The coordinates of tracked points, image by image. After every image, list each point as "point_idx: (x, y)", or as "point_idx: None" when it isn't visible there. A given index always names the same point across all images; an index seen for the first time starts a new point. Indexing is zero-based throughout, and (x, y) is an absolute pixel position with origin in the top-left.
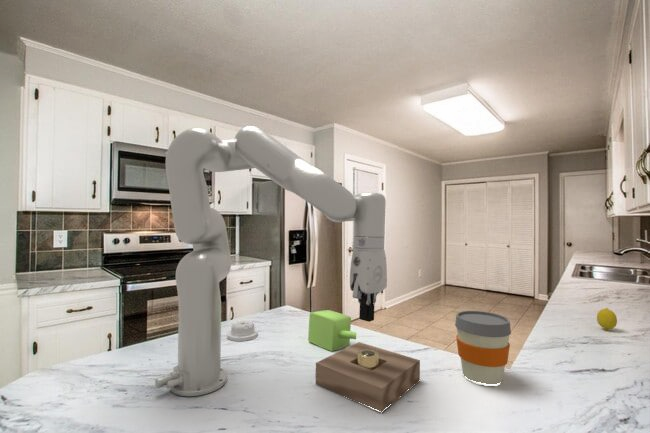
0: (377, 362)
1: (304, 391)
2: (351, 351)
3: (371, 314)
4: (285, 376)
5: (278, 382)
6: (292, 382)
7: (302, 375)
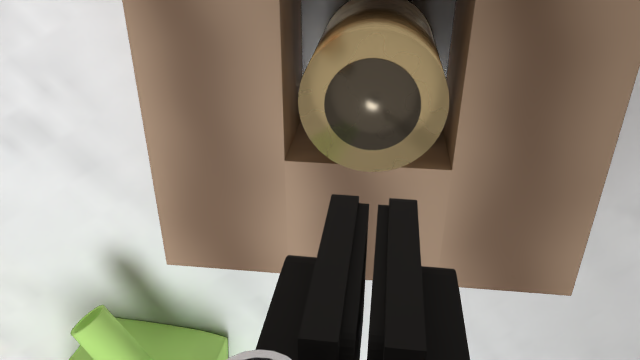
0: (369, 19)
1: (628, 230)
2: (312, 231)
3: (395, 243)
4: (551, 350)
5: (612, 342)
6: (582, 305)
7: (502, 308)
